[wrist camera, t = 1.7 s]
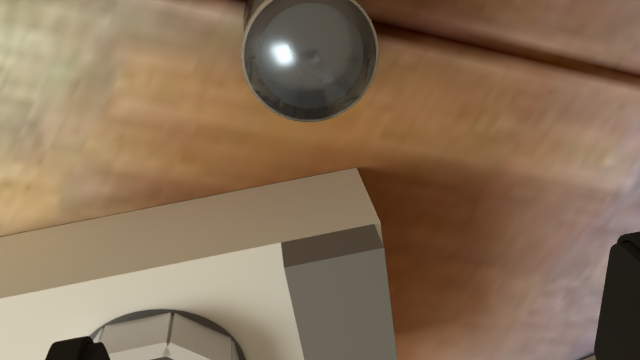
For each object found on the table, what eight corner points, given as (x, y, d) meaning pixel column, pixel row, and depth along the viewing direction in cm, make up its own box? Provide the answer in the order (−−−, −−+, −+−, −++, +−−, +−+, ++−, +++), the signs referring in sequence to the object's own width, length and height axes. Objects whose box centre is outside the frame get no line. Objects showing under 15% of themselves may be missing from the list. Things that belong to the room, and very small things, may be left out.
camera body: (356, 167, 31) (392, 248, 24) (379, 340, 37) (413, 447, 30) (-5, 237, 30) (-81, 344, 23) (78, 404, 36) (39, 530, 29)
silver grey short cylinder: (340, -46, 26) (371, -27, 20) (354, 62, 29) (385, 109, 22) (230, -26, 26) (227, -1, 20) (253, 81, 28) (257, 133, 22)
